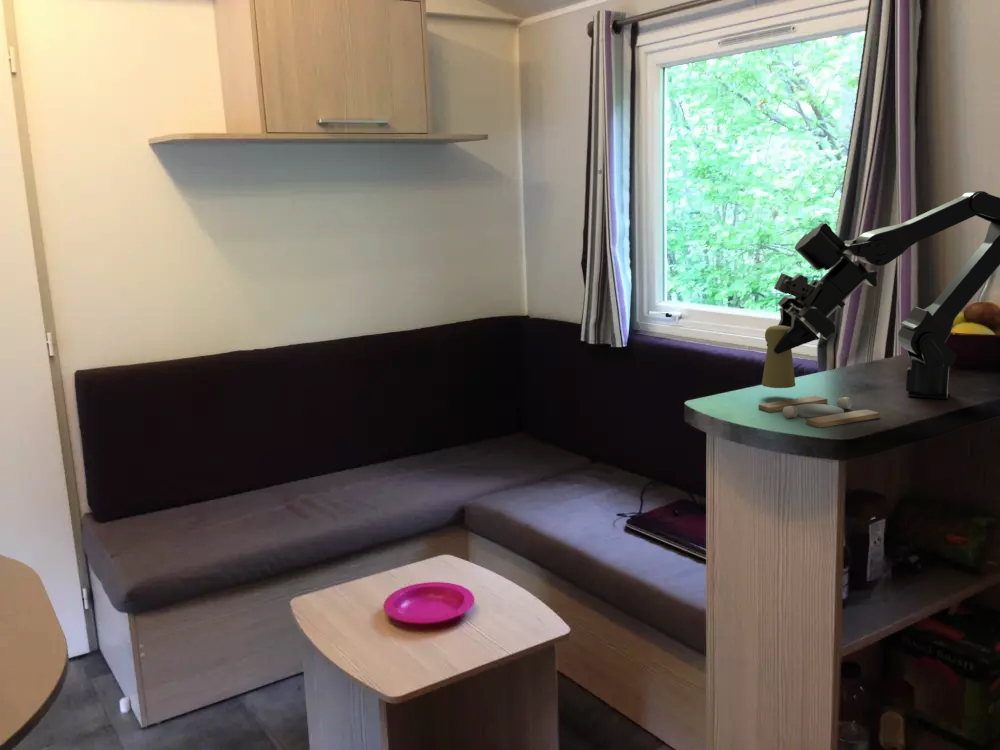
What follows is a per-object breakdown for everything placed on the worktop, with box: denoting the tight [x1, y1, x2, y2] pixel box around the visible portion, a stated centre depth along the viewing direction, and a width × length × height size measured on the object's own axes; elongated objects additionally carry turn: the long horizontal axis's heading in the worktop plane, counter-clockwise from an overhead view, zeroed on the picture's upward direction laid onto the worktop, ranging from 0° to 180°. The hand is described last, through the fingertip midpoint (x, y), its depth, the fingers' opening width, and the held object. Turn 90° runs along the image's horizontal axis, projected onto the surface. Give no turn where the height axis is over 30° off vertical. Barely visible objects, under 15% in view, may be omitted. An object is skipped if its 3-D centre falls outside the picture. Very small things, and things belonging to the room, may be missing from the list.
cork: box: [761, 324, 796, 389], centre depth 167 cm, size 6×6×11 cm
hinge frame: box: [758, 395, 880, 429], centre depth 156 cm, size 13×15×2 cm
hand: (771, 349), depth 167 cm, fingers closed on cork, 5 cm apart
